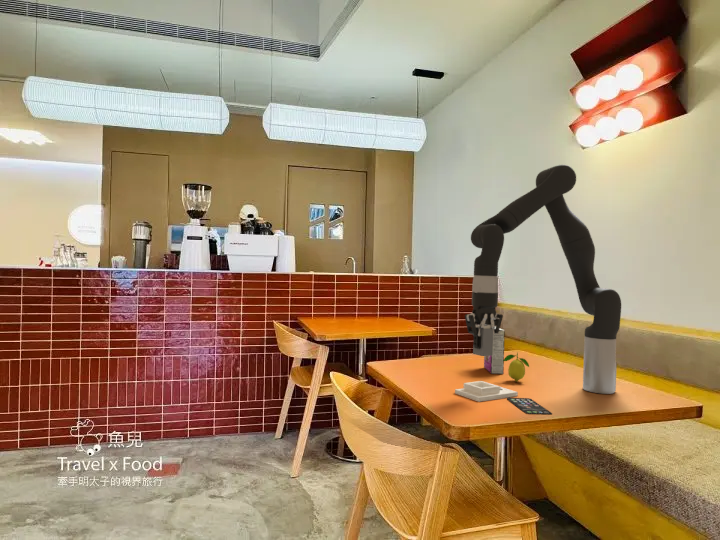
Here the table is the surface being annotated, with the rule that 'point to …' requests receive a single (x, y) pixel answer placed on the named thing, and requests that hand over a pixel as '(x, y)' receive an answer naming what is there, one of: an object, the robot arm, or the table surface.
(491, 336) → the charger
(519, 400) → the smartphone
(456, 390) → the outlet plate
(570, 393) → the table surface
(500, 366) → the candy bar box
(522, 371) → the lemon
